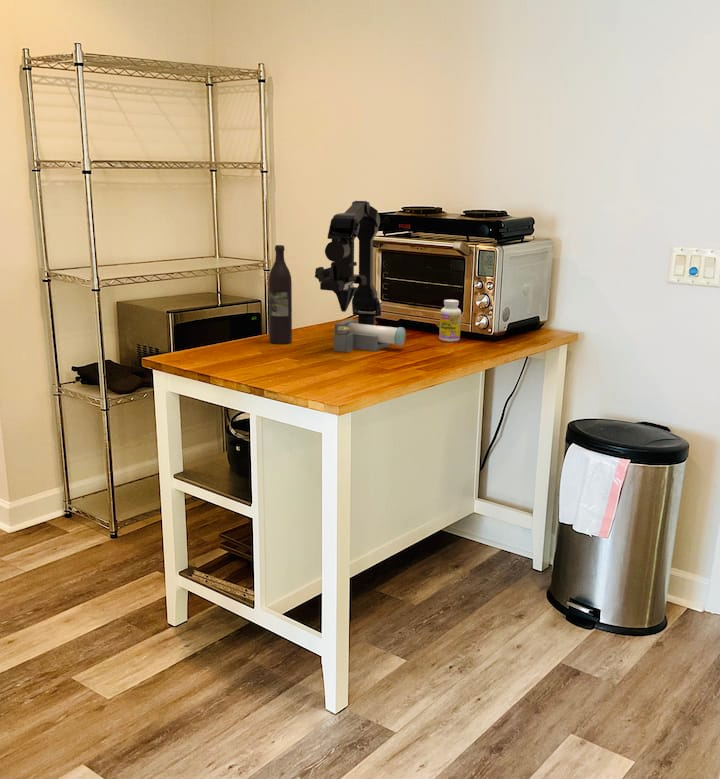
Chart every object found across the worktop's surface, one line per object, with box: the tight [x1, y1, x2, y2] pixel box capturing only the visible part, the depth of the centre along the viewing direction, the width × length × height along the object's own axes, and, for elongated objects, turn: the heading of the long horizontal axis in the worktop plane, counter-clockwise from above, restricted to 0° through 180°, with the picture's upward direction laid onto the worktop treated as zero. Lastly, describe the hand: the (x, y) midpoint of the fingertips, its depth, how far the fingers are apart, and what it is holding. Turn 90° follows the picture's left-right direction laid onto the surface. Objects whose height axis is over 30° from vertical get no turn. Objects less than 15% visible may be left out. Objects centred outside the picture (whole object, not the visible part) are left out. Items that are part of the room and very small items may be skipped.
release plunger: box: [338, 326, 349, 335], centre depth 243 cm, size 3×3×6 cm
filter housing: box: [333, 318, 390, 353], centre depth 247 cm, size 16×14×7 cm
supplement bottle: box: [438, 299, 462, 343], centre depth 260 cm, size 7×7×13 cm
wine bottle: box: [268, 244, 293, 345], centre depth 250 cm, size 7×7×30 cm
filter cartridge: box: [348, 322, 406, 347], centre depth 247 cm, size 6×18×6 cm, turn 63°
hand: (343, 311), depth 241 cm, fingers closed
